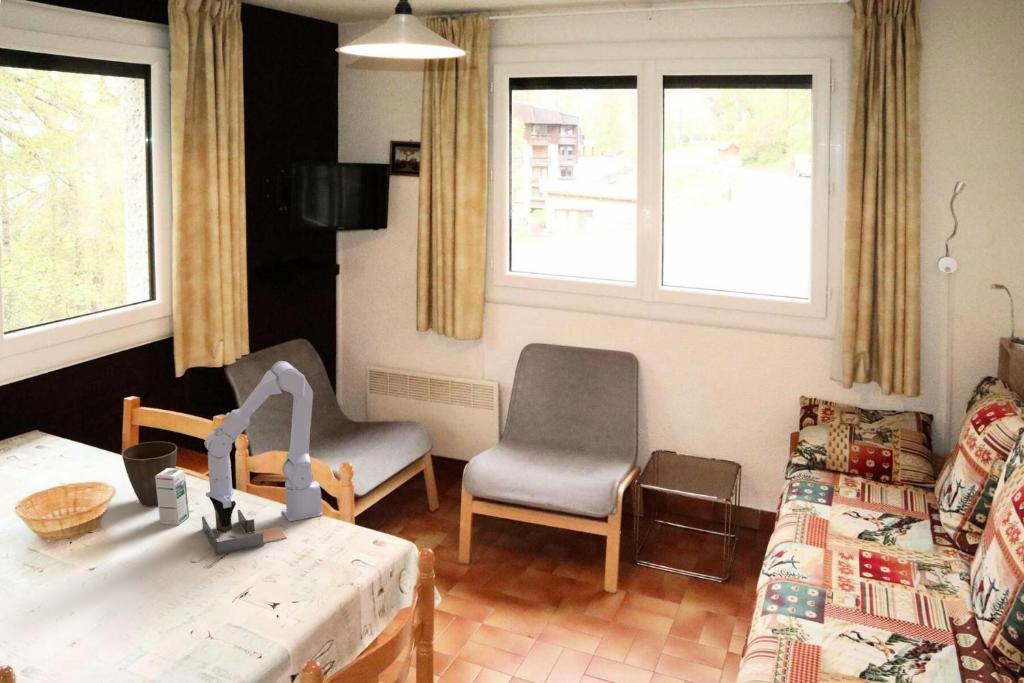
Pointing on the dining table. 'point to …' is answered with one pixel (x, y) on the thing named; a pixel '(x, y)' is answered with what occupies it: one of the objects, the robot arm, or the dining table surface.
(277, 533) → the coaster
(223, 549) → the rail channel
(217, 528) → the walnut peg
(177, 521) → the syrup box
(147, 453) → the plant pot
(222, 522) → the robot arm
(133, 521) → the dining table surface
